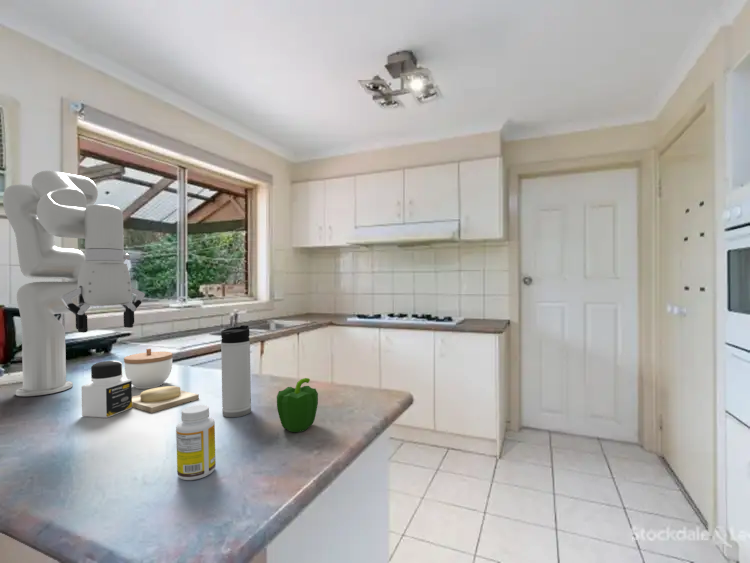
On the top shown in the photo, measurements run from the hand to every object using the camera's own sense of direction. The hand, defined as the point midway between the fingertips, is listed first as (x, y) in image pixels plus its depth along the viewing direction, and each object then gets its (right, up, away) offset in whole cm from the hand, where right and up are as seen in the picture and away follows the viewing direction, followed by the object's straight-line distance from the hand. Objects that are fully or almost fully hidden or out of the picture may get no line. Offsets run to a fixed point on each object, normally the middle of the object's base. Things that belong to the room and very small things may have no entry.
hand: (106, 329), depth 91 cm
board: (+9, -20, +8) cm, 23 cm away
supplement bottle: (+35, -19, -30) cm, 50 cm away
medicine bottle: (0, -20, 0) cm, 20 cm away
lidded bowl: (-4, -20, +24) cm, 31 cm away
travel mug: (+32, -19, -2) cm, 37 cm away
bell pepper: (+48, -19, -12) cm, 53 cm away
